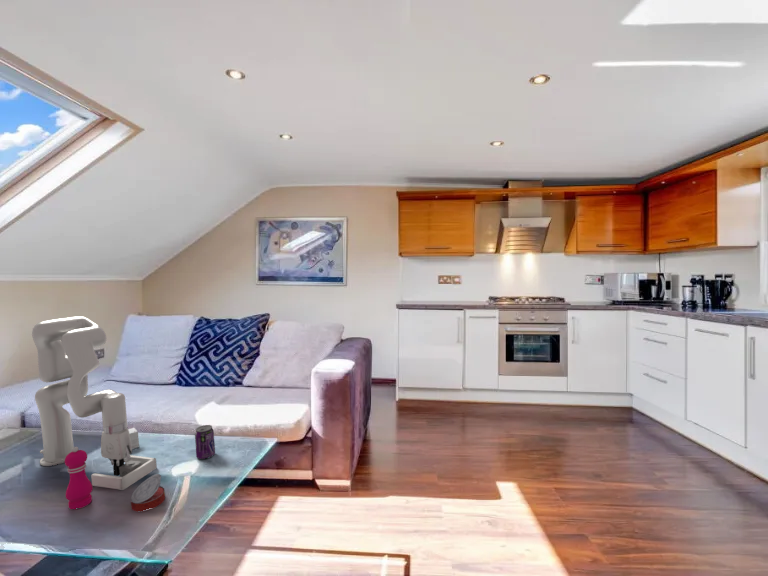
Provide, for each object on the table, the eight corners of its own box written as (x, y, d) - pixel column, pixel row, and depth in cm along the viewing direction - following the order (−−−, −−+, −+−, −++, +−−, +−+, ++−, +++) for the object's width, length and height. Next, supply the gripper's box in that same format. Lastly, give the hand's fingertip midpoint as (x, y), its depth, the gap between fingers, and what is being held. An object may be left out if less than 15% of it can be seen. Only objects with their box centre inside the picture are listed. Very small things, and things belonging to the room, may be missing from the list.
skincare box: (135, 442, 178) (134, 427, 178) (139, 447, 174) (138, 430, 174) (119, 447, 174) (118, 431, 173) (123, 452, 170) (121, 435, 169)
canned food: (161, 518, 133) (157, 501, 128) (127, 520, 130) (122, 503, 125) (171, 486, 142) (168, 469, 137) (139, 487, 140) (135, 470, 135)
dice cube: (131, 481, 147) (130, 468, 146) (120, 480, 148) (119, 467, 148) (142, 474, 152) (141, 461, 151) (131, 472, 153) (130, 460, 153)
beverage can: (208, 461, 160) (206, 432, 159) (192, 459, 162) (190, 431, 161) (218, 452, 167) (217, 424, 166) (203, 451, 169) (201, 424, 168)
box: (92, 485, 145) (91, 475, 145) (127, 464, 160) (127, 454, 159) (123, 490, 142) (122, 479, 141) (156, 468, 156) (156, 458, 156)
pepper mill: (76, 498, 137) (71, 442, 136) (98, 496, 138) (93, 441, 136) (61, 511, 130) (55, 452, 129) (84, 509, 131) (79, 451, 129)
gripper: (90, 429, 147) (94, 476, 149) (122, 433, 144) (126, 481, 145) (108, 421, 155) (112, 466, 156) (140, 424, 151) (143, 470, 152)
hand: (119, 473), depth 151 cm, fingers closed
